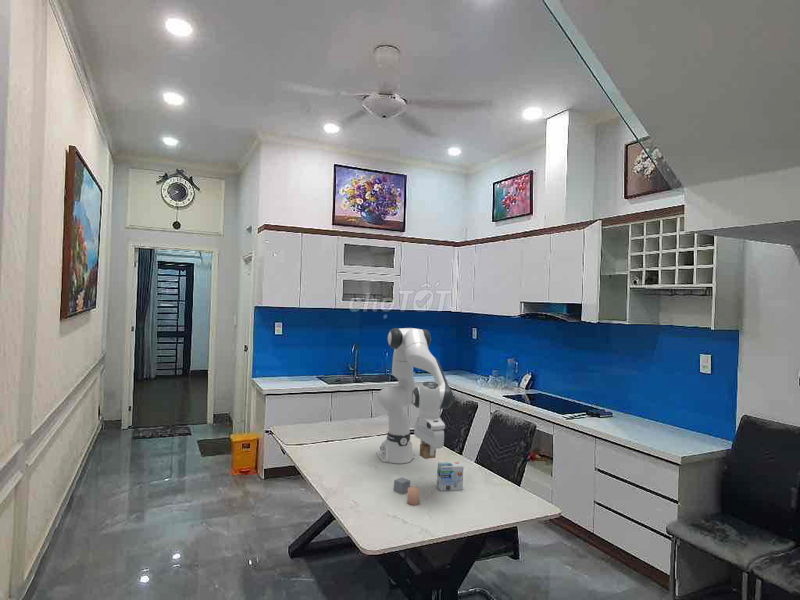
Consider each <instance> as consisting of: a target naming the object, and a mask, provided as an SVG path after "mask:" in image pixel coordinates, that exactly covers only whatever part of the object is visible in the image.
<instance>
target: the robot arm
mask: <svg viewBox="0 0 800 600" xmlns="http://www.w3.org/2000/svg"><path fill="white" fill-rule="evenodd" d="M431 341H432V337H431V333H430V331H429V330H428V329H424V328H421V329H420V328H413V327H404V328H402V327H401V328H398V327H395V328H392V329H390V330H389V331H388V334H387V343H388V346H389V347H390V348H391V349H393V354H392V363H391V364H392V365H391V366H392V367H391V374H392V376H393V377H394V378H395V379H397V382H398V384H397V385H392V386H386V387H385V388H382V389H381V390H379V392H378V402H379V405H380V406H381V407H383V409H385V412H386V414H387V417H388V431H387V433H386V434H387V435H386V439H385V440H384V441H382V443H381V445H380V446H379V450H377V451H376V454H377V456H378V457H379V459H380V461H381V463H382V462H383V463H390V464H391V463H392V464H407V463H410V462H412V460H413V459H415V455H413V454H414V453H413V443H412V441H411V432H410V430H411V429H410V428H411V420H410V416H408V415H407V414H406V413H405V412H404V407H407V406H412V405H413V406H414V407H416V408H417V409H419V411H418V417H417V419H416V421H415V423H414V424H415V425H414V431H413V434H414V436H415V438H417V439H419V440H420V444H423V443H427V444H429V445H430V450H429V455H431V456H432V455H434V451H435V449H436V450H437V449H442V448H443V447H444V443H445V431H444V430H445V429H446V424H445V423H444V421H443V420H442V418H441V417H440V416H441V413H440V410H448V409H449V408H450V407H451V406H452V405H453V404H454V393H453V390H452V388H451V387H450V385H449V384H448V381H447V378H446V376H445V373H444V371H443V368H442V366H441V364H440V362H439V359H438V358H437V357H435V356H434V355H433V354H432V352H431V351H430V349H429V347H430V346H431ZM414 368H416V369H418V370H419V369H420V370H422V371H426V372H427V373H429V374H431V375H432V377H433V379H434V381H424V382H422V383H421V385H420V386H418V385H417V384H416V382H415V378H414Z"/></svg>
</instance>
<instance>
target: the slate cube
mask: <svg viewBox="0 0 800 600" xmlns="http://www.w3.org/2000/svg"><path fill="white" fill-rule="evenodd" d="M408 487H411V479H407V478H405V477H403V476H402V477H399V478H396V479H393V492H395V493H397V494H400V495H404V494H408Z"/></svg>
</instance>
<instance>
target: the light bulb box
mask: <svg viewBox="0 0 800 600" xmlns="http://www.w3.org/2000/svg"><path fill="white" fill-rule="evenodd" d="M436 472H437V473H436V486H437V488H438V490H439V491H441V492H444V491H445V492H446V491H463V488H464V486H463V484H464V483H463V482H464V465H463V464H462V463H461V462H460V461H444V462H437V469H436Z"/></svg>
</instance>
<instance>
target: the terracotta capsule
mask: <svg viewBox="0 0 800 600" xmlns="http://www.w3.org/2000/svg"><path fill="white" fill-rule="evenodd" d="M420 488H421V487H419V486H415V485H412V486H411V485H410V487H408V492H407V497H406V498H407V500H406V501H407V502H406V503H407V504H408V505H409V506H418V505H419V504H420V493H421V492H420V491H421V489H420Z"/></svg>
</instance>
